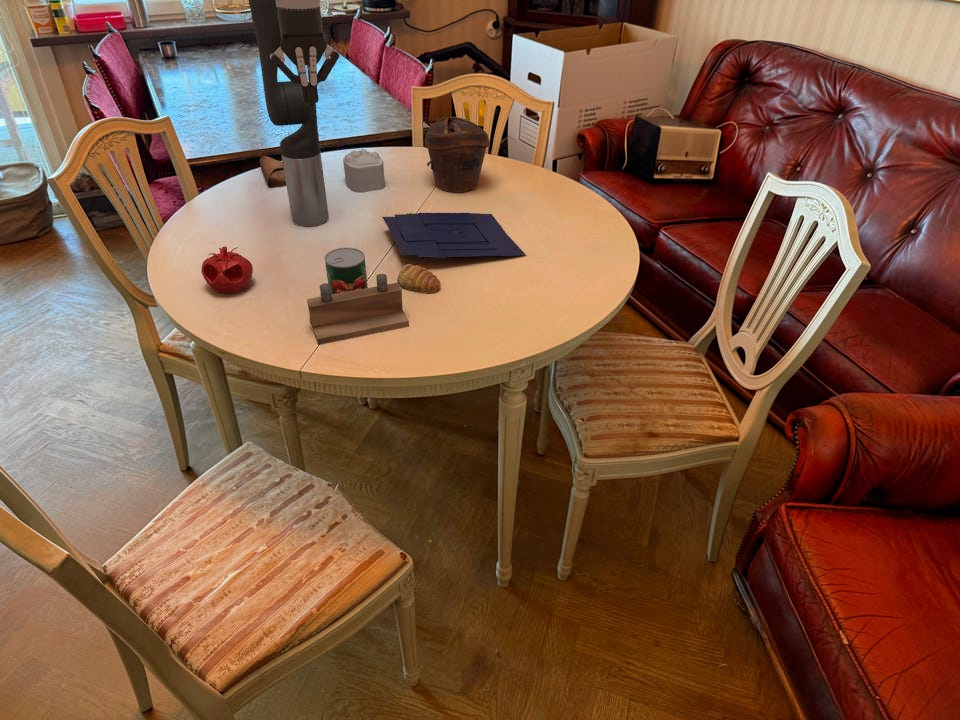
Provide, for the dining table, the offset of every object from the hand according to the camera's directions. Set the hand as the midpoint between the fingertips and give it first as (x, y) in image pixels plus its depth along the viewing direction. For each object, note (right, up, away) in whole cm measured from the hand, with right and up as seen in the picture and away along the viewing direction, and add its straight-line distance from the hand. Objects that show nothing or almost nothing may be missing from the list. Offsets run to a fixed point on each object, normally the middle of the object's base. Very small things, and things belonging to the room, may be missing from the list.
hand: (311, 105), depth 120 cm
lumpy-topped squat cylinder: (-1, +2, +59) cm, 60 cm away
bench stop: (+9, -42, +3) cm, 43 cm away
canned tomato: (+6, -38, +9) cm, 39 cm away
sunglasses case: (-26, +4, +62) cm, 68 cm away
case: (+26, +2, +61) cm, 66 cm away
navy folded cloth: (+26, -21, +32) cm, 46 cm away
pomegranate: (-21, -34, +13) cm, 42 cm away
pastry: (+19, -33, +16) cm, 42 cm away
